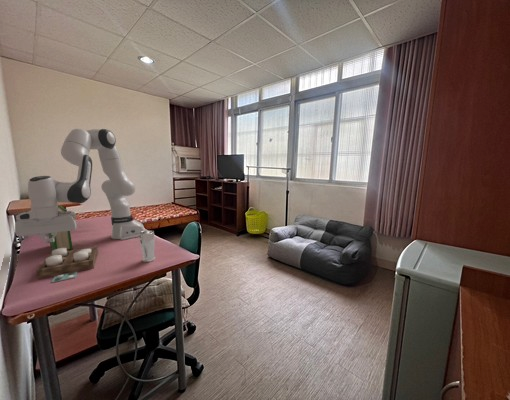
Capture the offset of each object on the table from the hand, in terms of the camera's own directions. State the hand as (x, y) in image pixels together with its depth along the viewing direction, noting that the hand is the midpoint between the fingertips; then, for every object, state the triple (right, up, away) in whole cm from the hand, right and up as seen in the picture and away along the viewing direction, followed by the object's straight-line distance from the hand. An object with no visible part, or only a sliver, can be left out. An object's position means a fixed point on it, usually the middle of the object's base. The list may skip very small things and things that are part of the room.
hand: (50, 242), depth 100 cm
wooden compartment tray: (+2, -13, +10) cm, 16 cm away
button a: (+4, -11, +16) cm, 20 cm away
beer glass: (+38, -12, +15) cm, 43 cm away
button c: (+9, -10, +7) cm, 15 cm away
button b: (-5, -9, +11) cm, 15 cm away
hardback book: (-22, -9, +31) cm, 39 cm away
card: (+9, -15, -2) cm, 18 cm away
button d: (0, -11, +2) cm, 11 cm away
